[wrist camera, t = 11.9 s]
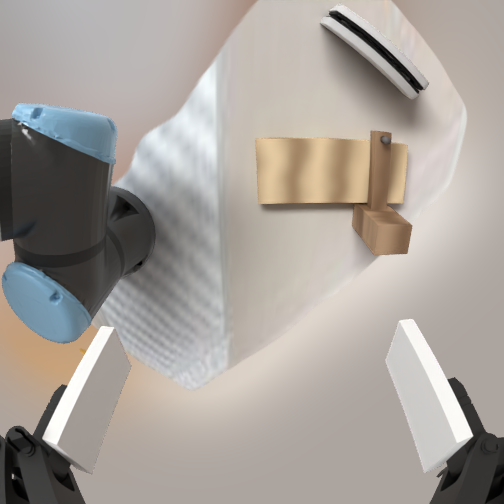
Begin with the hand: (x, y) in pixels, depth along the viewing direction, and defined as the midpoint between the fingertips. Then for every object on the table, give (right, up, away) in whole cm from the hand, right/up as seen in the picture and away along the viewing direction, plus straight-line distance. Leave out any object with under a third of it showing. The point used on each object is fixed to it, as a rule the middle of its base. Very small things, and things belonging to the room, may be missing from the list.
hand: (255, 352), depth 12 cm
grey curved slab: (+17, +33, +19) cm, 41 cm away
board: (+12, +16, +27) cm, 34 cm away
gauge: (+18, +15, +27) cm, 36 cm away
